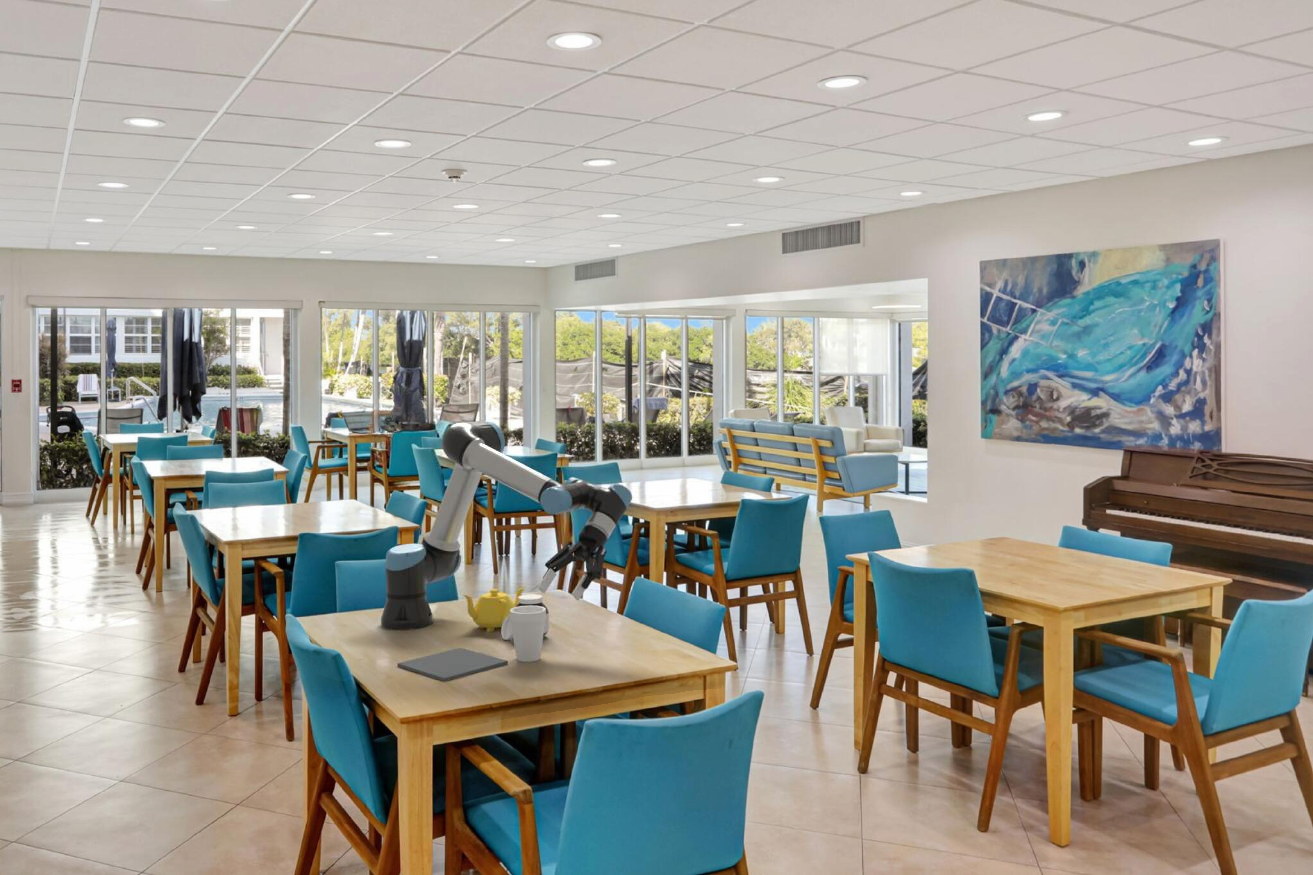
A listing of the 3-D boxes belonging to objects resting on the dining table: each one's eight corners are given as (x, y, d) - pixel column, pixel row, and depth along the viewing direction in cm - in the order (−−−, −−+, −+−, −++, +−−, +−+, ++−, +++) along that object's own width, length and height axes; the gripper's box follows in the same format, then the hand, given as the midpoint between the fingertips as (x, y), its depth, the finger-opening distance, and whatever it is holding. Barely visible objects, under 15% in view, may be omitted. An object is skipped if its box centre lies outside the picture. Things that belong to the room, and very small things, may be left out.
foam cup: (522, 665, 264) (521, 615, 263) (503, 657, 271) (503, 609, 270) (553, 658, 270) (552, 609, 269) (534, 651, 277) (533, 604, 276)
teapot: (474, 638, 291) (473, 598, 290) (454, 628, 304) (454, 589, 303) (538, 628, 302) (537, 590, 301) (516, 619, 314) (515, 582, 314)
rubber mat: (397, 666, 264) (397, 663, 264) (460, 650, 278) (460, 647, 278) (444, 681, 250) (444, 678, 250) (508, 663, 265) (507, 660, 265)
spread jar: (553, 636, 293) (552, 596, 292) (528, 645, 283) (528, 603, 283) (520, 631, 299) (519, 591, 298) (495, 640, 289) (494, 599, 289)
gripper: (635, 544, 281) (597, 608, 271) (573, 536, 298) (534, 595, 287) (621, 527, 277) (582, 591, 266) (559, 519, 293) (519, 579, 283)
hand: (557, 594), depth 277 cm, fingers open, 13 cm apart
